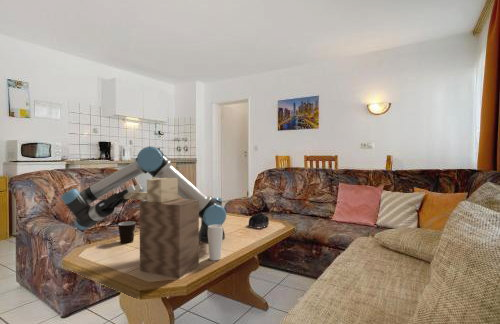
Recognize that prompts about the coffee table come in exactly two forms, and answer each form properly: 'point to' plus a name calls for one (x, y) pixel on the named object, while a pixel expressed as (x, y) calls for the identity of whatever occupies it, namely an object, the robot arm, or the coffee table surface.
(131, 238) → the coffee mug
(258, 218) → the black rounded lump
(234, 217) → the coffee table surface
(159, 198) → the stepped beige block
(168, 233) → the stand
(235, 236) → the coffee table surface
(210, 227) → the drinking glass
